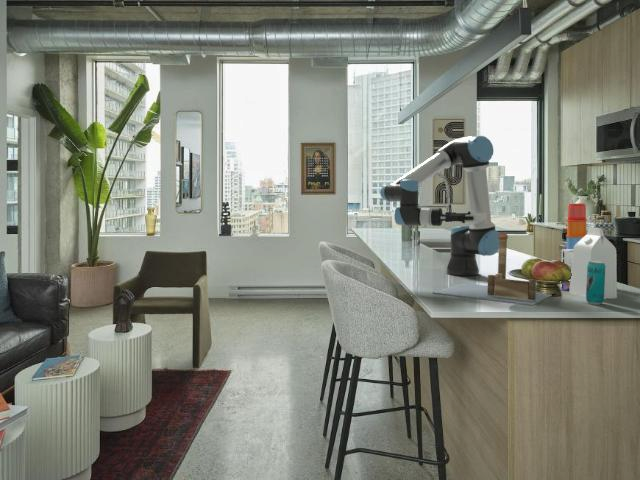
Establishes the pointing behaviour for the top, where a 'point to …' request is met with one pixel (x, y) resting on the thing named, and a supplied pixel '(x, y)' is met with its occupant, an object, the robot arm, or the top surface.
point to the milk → (593, 250)
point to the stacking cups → (576, 224)
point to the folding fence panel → (502, 257)
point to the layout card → (481, 293)
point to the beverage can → (595, 282)
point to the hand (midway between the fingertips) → (484, 217)
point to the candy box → (567, 259)
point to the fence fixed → (512, 288)
